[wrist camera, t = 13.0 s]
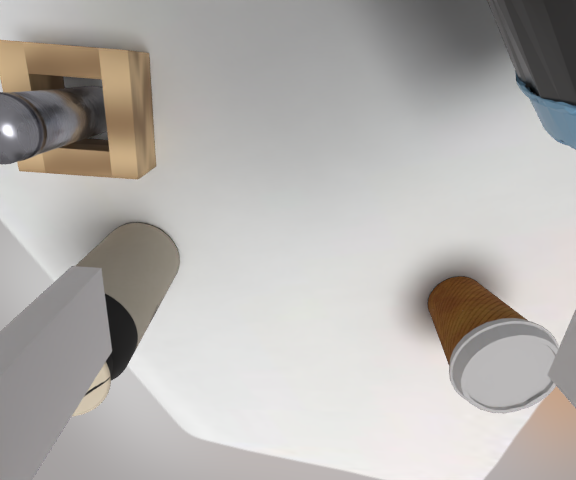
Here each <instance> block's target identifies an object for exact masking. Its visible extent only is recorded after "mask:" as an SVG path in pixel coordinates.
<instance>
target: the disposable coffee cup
mask: <svg viewBox="0 0 576 480" xmlns="http://www.w3.org/2000/svg"><path fill="white" fill-rule="evenodd" d="M428 309H429V312H430V314H431V317H432V320H433V323H434V325H435V328H436V331H437V334H438V336H439V339H440V342H441V345H442V347H443V350H444V353H445V356H446V358H447V361H448V364H449V375H450V381H451V383H452V385H453V387H454V389H455V391H456V392H457V393H458V394H459V395H460V396H461V397H463V398H464V399H466V400H467V401H469V402H470V404H472V405H474V406H475V407H477V408H479V409H480V410H484V411H488V412H492V413H509V412H515V411H518V410H521V409H525V408H528V407H530V406H532V405H534V404H536V403H538V402H539V401H541V400H542V399H544V398H545V397H546V396H547V395H549V394H550V393H551V392H552V390H553V389H554V388H555V387H556V385H555V384H554V382H553V381H552V380H551V379H550V378H549V377H548V372H549V370H550V368H551V365H552V363H553V361H554V358H555V356H556V354H557V351H558V349H559V346H558V343H557V341H556V339H555V337H554V336H553V335H552V334H551V333H550V332H549V331H548V330H547V329H545V328H544V327H542V326H540V325H538V324H536V323H533V322H530V321H528V320H527V319H525V318H524V317H523V316H521V315H520V314H518V313H517V312H516V311H514V310H513V309H512V308H510V306H508V305H507V304H505V303H504V302H503V301H501V300H500V299H499V298H498V297H496V296H495V295H493V294H492V293H491V292H489V291H488V290H487V289H485V288H484V287H483V286H482V285H480V284H479V283H478V282H477V281H475V280H473V279H471V278H468V277H453V278H449V279H447V280H445V281H443V282H441V283H440V284H439V285H437V286H436V287H435V288H434V289H433V291H432V292H431V294H430V296H429V300H428Z"/></svg>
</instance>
